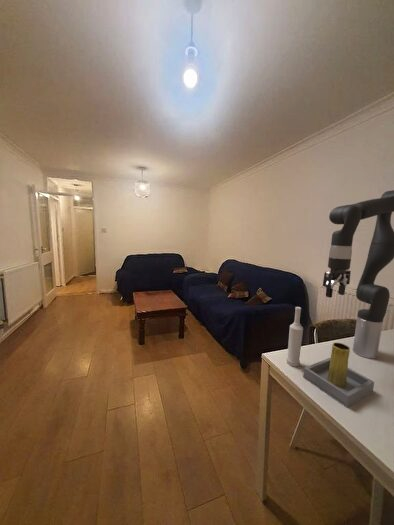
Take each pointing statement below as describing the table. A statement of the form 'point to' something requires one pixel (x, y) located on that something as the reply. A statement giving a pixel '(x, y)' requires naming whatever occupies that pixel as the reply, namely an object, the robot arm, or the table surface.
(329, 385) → the bin
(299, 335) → the bottle
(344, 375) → the vase
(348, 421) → the table surface
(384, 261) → the robot arm
